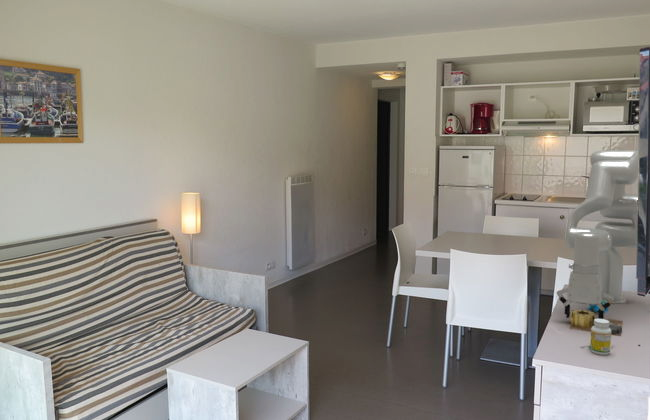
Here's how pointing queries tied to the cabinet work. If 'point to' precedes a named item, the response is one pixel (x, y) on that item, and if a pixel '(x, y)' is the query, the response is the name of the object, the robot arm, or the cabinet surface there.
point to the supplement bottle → (600, 337)
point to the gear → (597, 307)
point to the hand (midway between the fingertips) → (583, 318)
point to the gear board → (613, 325)
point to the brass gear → (582, 318)
